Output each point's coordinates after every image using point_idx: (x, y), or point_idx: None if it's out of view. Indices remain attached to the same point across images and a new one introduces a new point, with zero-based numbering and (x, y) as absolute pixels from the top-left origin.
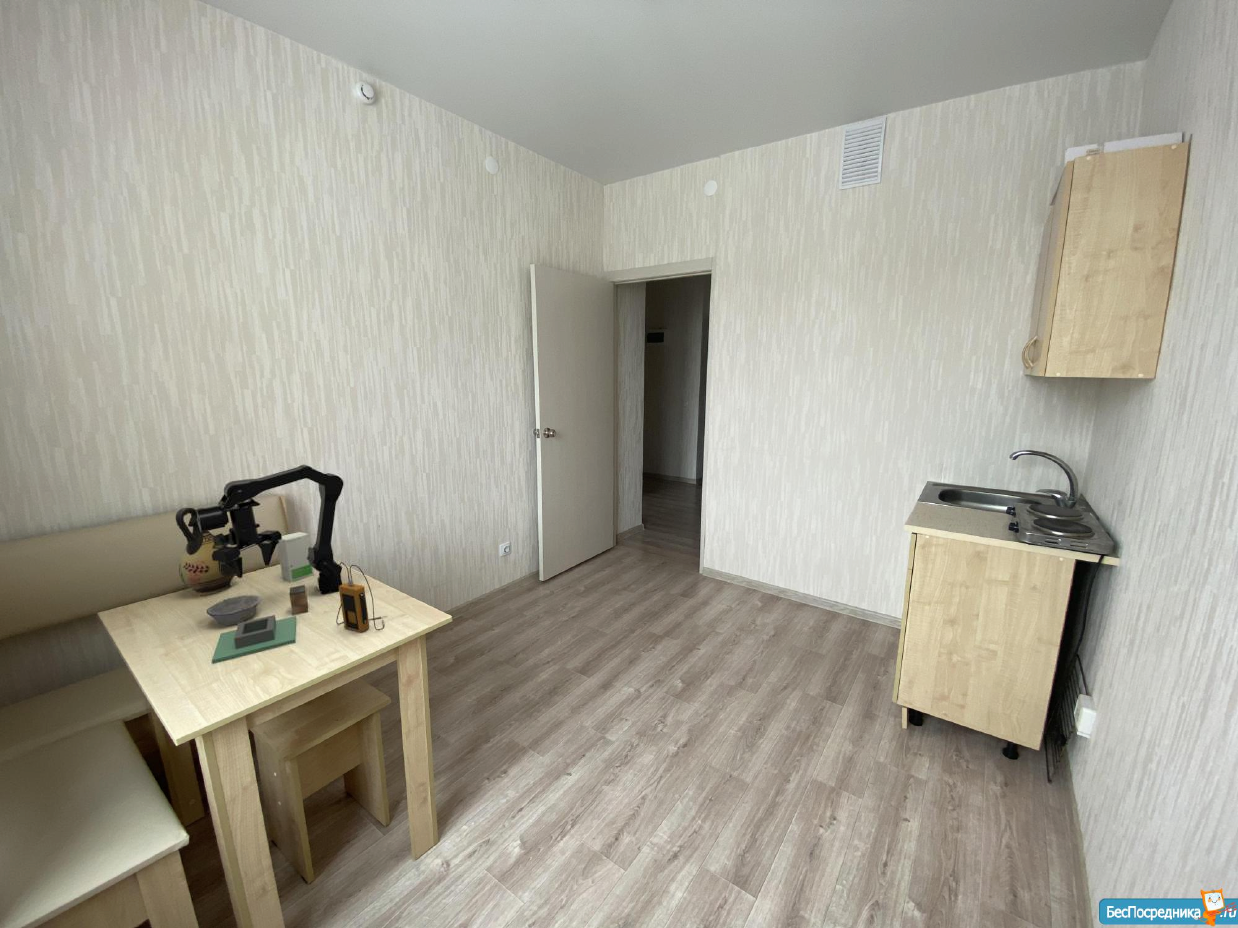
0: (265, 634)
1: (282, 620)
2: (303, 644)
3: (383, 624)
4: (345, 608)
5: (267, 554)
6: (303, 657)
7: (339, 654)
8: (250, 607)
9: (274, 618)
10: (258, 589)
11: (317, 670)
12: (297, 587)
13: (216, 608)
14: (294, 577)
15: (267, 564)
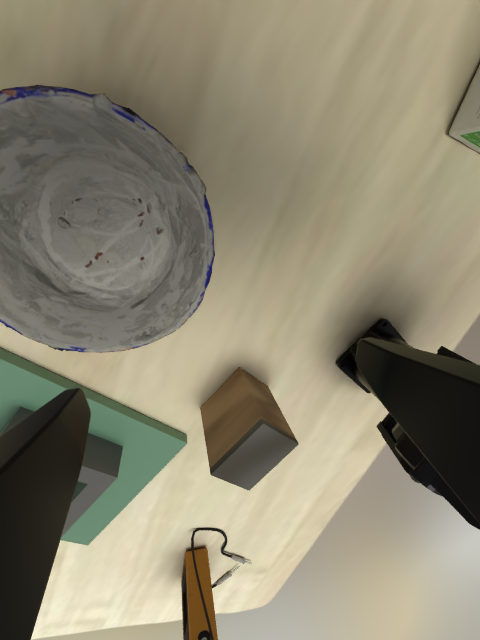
0: None
1: (149, 438)
2: (94, 550)
3: (218, 584)
4: (187, 628)
5: (449, 453)
6: (55, 590)
7: (101, 613)
8: (114, 351)
9: (101, 492)
10: (383, 3)
11: (39, 633)
12: (270, 445)
13: (38, 122)
14: (473, 137)
15: (360, 367)
